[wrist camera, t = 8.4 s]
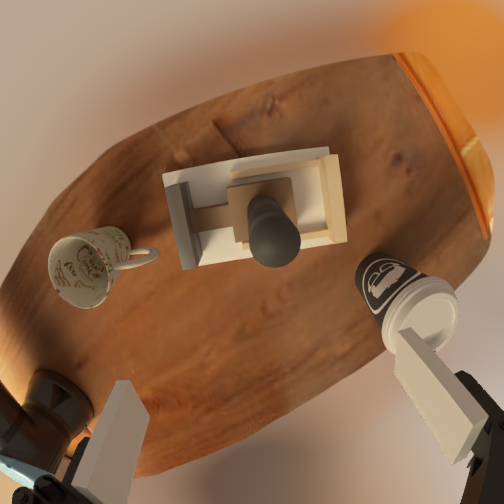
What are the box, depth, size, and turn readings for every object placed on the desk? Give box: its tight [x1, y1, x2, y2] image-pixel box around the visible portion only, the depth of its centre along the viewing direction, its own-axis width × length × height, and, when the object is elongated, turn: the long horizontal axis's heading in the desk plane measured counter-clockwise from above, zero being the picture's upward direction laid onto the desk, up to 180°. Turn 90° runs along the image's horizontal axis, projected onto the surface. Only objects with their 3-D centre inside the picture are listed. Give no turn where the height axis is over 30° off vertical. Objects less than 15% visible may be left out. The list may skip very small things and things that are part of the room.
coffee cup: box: [355, 253, 459, 355], centre depth 32 cm, size 10×10×15 cm
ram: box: [164, 177, 301, 270], centre depth 27 cm, size 13×9×16 cm
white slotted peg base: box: [162, 146, 347, 266], centre depth 34 cm, size 20×12×4 cm, turn 99°
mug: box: [48, 226, 160, 309], centre depth 33 cm, size 8×13×10 cm, turn 97°
